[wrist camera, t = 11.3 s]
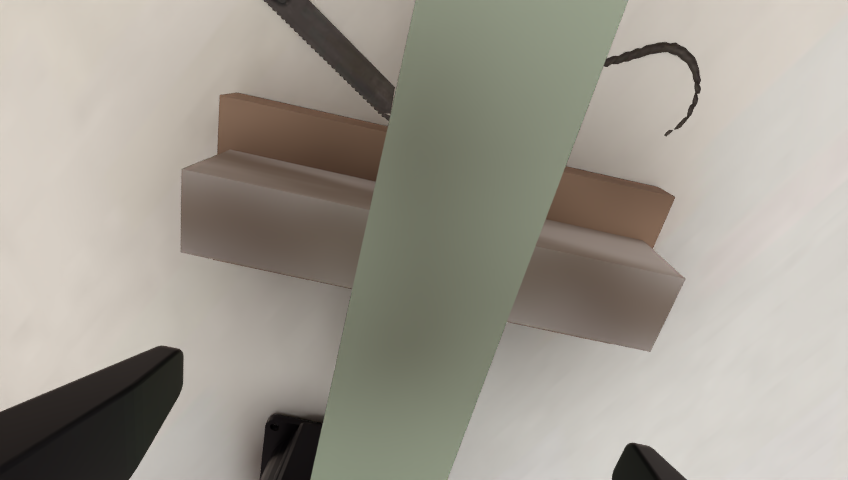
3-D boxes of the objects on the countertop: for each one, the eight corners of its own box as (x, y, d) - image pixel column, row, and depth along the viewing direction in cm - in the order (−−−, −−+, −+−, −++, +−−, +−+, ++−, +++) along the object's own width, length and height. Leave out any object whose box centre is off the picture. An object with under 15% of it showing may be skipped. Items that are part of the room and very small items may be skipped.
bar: (421, 466, 19) (414, 566, 15) (327, 444, 19) (297, 540, 15) (583, -9, 12) (643, -40, 8) (440, -50, 12) (437, -101, 8)
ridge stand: (600, 325, 22) (642, 397, 17) (228, 246, 21) (166, 298, 16) (658, 187, 19) (726, 227, 14) (236, 92, 18) (166, 102, 14)
